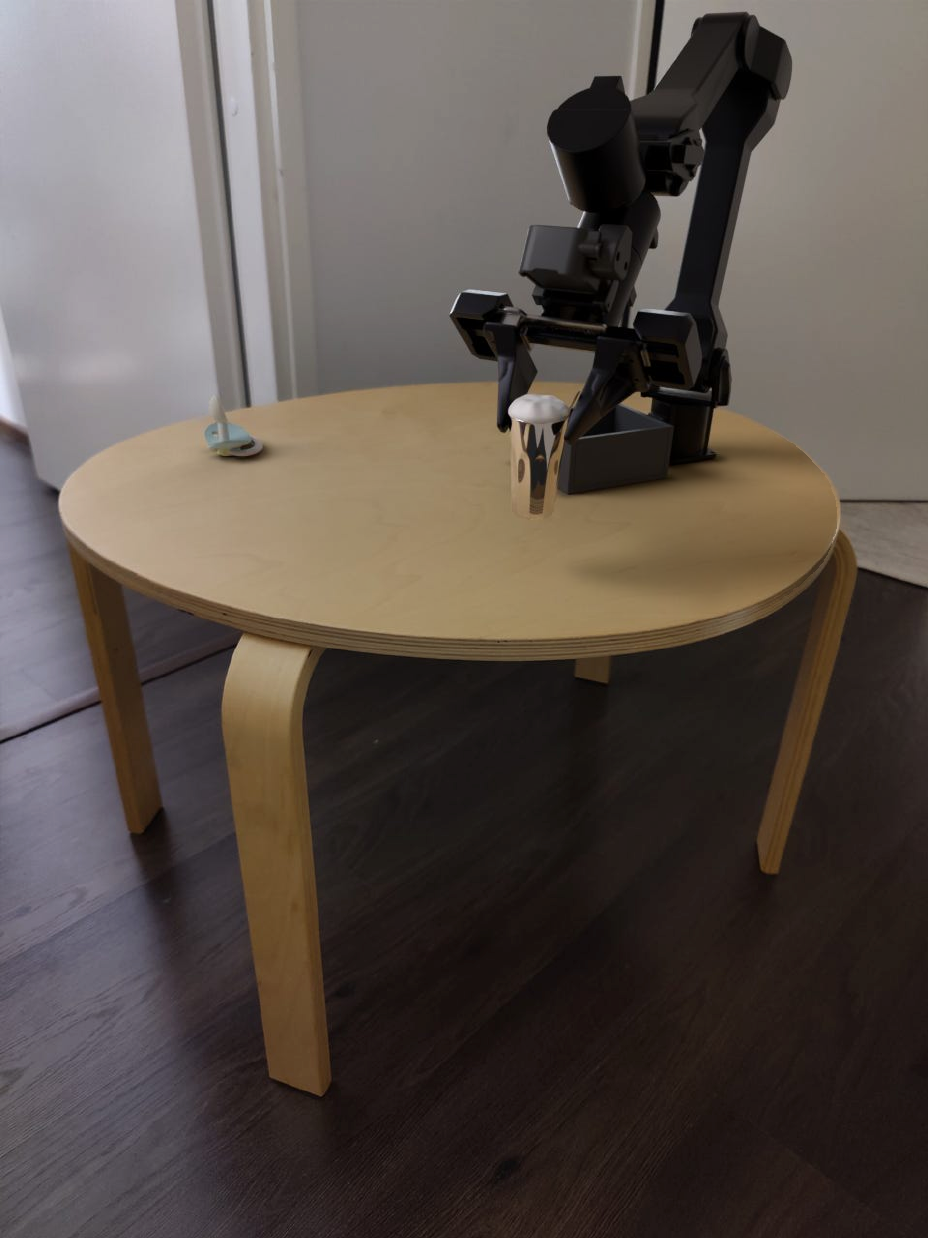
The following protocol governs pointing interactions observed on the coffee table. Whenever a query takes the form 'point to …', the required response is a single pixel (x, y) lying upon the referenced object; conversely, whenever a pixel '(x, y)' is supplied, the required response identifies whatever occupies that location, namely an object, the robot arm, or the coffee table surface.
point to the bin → (617, 452)
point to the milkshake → (536, 453)
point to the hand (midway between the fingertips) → (533, 435)
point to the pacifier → (228, 434)
